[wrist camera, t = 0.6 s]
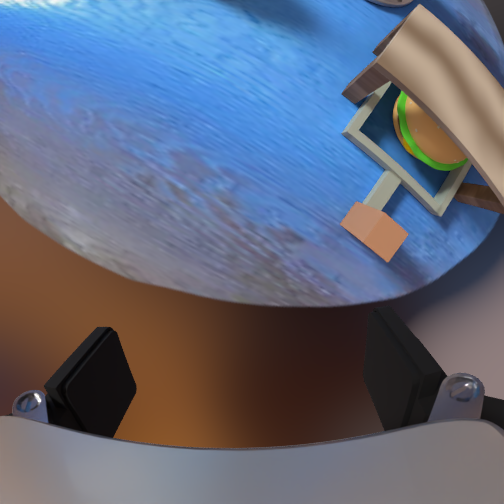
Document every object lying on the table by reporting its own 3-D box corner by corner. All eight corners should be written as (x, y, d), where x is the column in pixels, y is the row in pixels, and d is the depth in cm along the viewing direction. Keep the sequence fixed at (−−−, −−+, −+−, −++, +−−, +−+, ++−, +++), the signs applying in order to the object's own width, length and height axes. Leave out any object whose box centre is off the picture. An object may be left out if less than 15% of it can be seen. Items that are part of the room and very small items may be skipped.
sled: (402, 46, 28) (434, 22, 19) (481, 126, 30) (521, 122, 21) (298, 193, 34) (310, 202, 26) (393, 267, 36) (424, 294, 28)
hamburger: (382, 163, 33) (415, 163, 25) (381, 72, 30) (410, 51, 21) (456, 175, 33) (496, 179, 24) (455, 92, 29) (492, 81, 21)
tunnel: (379, 43, 28) (419, 3, 17) (486, 149, 31) (544, 151, 19) (341, 93, 31) (376, 62, 19) (458, 201, 33) (516, 217, 22)
